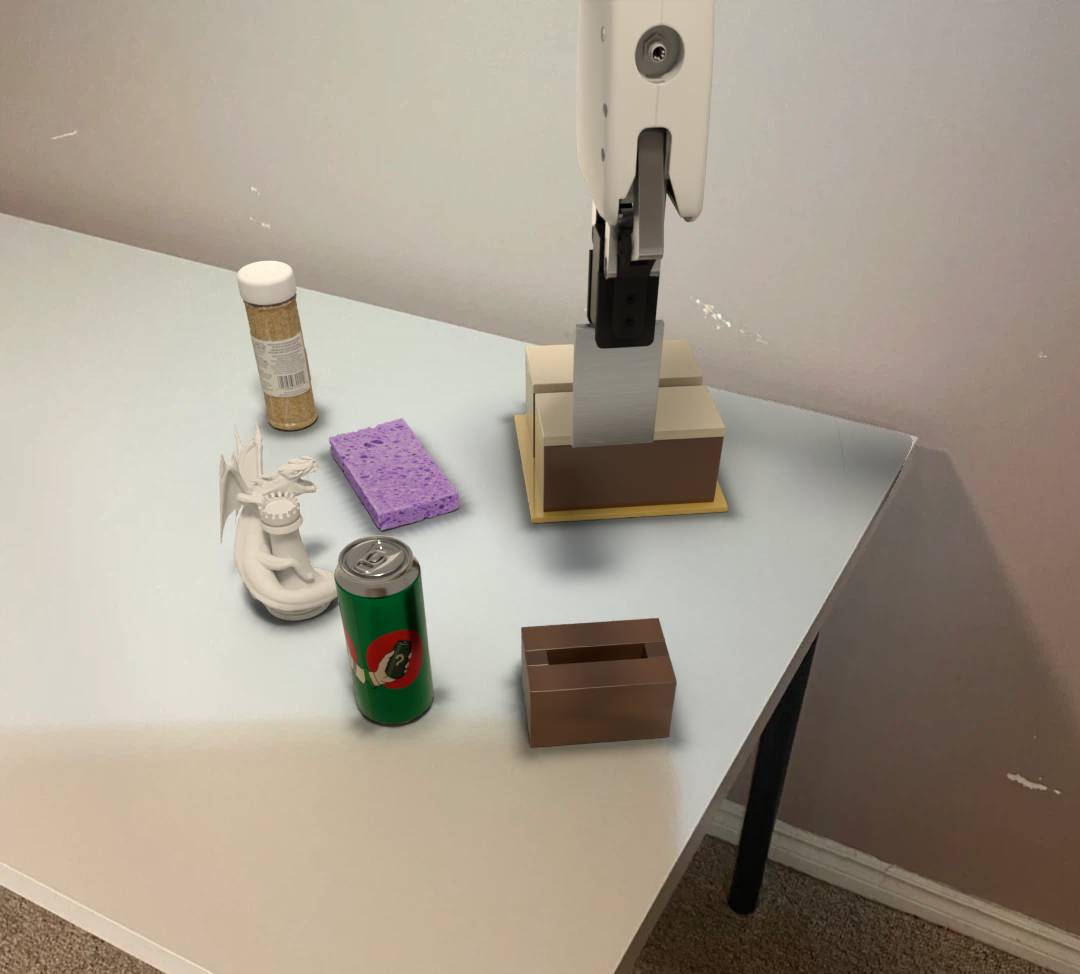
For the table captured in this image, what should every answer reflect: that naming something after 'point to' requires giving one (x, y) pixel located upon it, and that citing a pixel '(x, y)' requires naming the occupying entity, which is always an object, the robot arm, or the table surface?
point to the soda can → (385, 628)
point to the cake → (620, 446)
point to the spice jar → (278, 343)
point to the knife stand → (596, 682)
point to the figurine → (273, 532)
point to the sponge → (393, 474)
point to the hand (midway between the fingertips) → (619, 330)
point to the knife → (613, 378)
